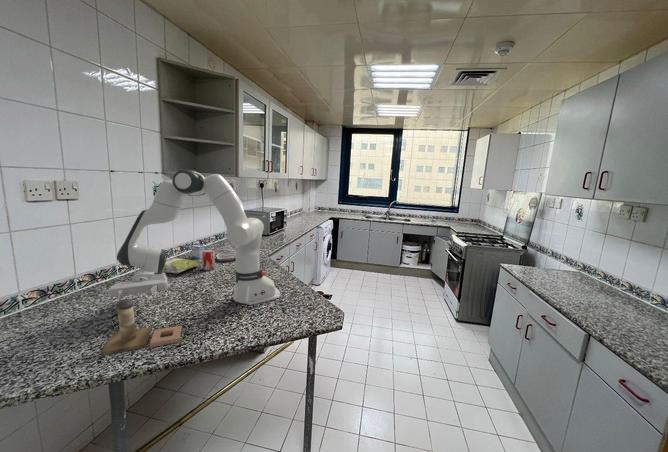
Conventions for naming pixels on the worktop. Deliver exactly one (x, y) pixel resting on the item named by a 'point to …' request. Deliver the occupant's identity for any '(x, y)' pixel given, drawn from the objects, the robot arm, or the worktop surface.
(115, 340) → the walnut board
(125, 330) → the beech tool handle
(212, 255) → the soda can
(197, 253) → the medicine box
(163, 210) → the robot arm
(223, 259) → the brain slice
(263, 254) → the worktop surface
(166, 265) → the frozen beans
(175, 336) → the frame
